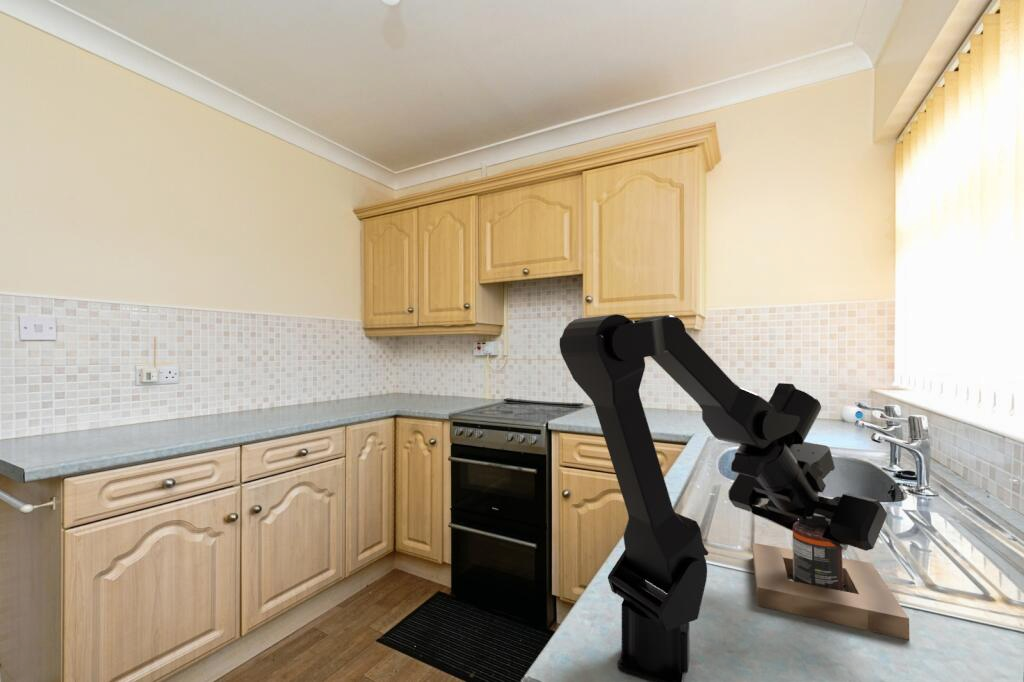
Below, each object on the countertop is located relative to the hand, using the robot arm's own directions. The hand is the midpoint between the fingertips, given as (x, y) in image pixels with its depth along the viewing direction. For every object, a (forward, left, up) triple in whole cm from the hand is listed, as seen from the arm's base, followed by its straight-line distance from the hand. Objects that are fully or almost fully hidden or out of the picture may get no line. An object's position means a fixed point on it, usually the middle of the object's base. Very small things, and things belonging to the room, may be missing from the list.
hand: (822, 538), depth 65 cm
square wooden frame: (-1, -1, -7) cm, 7 cm away
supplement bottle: (-1, -1, -7) cm, 7 cm away
